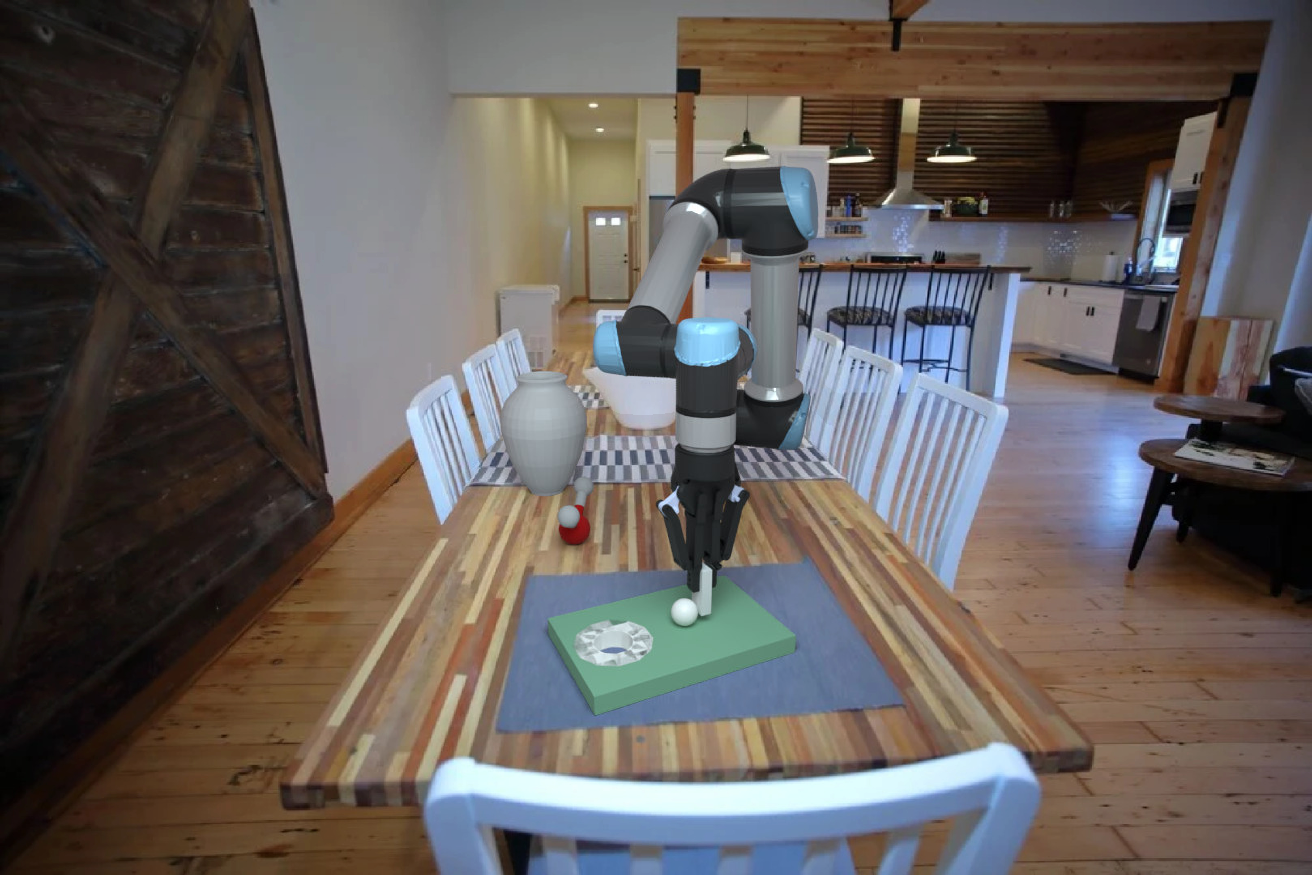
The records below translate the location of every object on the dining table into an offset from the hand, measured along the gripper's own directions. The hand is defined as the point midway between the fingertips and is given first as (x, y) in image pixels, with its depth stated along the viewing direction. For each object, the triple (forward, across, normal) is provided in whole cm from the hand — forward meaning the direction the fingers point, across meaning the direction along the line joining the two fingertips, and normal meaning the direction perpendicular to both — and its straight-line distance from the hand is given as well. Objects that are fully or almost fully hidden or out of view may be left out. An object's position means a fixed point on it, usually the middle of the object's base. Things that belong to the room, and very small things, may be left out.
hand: (701, 609), depth 91 cm
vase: (+4, +3, -62) cm, 62 cm away
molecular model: (+4, +6, -35) cm, 35 cm away
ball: (0, +3, 0) cm, 3 cm away
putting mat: (+4, +5, 0) cm, 6 cm away
